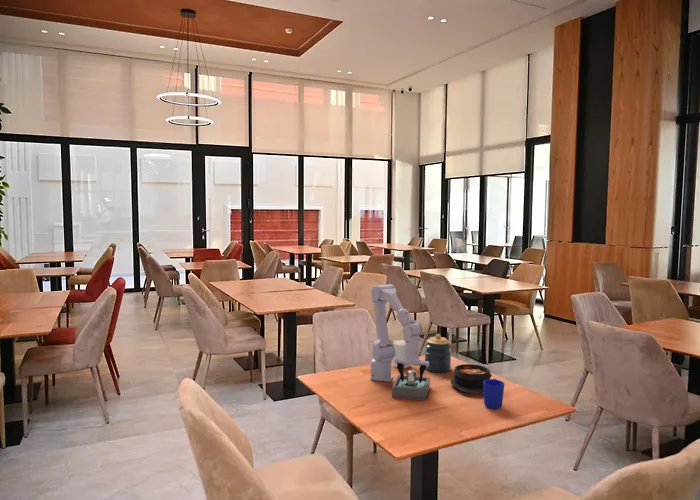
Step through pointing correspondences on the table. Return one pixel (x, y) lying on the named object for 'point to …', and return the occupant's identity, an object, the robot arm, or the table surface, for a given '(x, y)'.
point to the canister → (438, 354)
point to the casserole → (470, 378)
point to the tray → (411, 388)
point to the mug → (493, 393)
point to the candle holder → (399, 351)
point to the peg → (411, 378)
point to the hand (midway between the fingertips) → (411, 381)
